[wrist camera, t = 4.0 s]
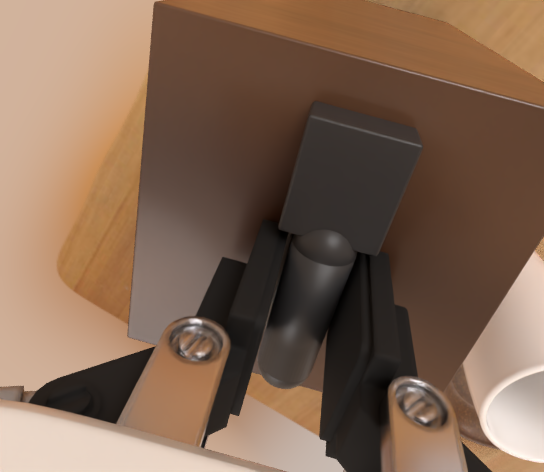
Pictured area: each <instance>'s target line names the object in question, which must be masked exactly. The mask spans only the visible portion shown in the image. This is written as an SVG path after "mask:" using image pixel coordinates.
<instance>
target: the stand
mask: <svg viewBox="0 0 544 472" xmlns="http://www.w3.org/2000/svg"><path fill="white" fill-rule="evenodd" d="M314 101H318V102H321V103H325V104H329V105H332V106H336V107H340V108H343V109H347V110H351V111H355V112H358V113H362V114H366V115H369V116H373V117H377V118H380V119H384V120H388V121H391V122H395V123H399V124H402V125H406V126H410V127H413V128H416V129H417V131H418V133H419V136H420V139H421V141H422V144H423V150H422V152H421V155H420V157H419V159H418V162H417V164H416V166H415V169H414V171H413V173H412V176H411V178H410V181H409V183H408V185H407V188H406V190H405V192H404V195H403V197H402V199H401V202H400V204H399V207H398V209H397V211H396V214H395V216H394V218H393V221H392V223H391V225H390V228H389V230H388V233H387V235H386V237H385V240H384V242H383V244H382V247H381V249H380V251H381V252H385V253H388V254H389V261H390V269H391V278H392V286H393V295H394V303H395V305H399V306H402V307H405V308H406V309H407V311H408V315H409V322H410V328H411V335H412V341H413V347H414V354H415V360H416V367H417V373H418V377H419V378H421V379H424V380H426V381H428V382H430V383H431V384H433V385H434V386H436V387H437V388H439V389H440V390H441V391H442V392H443V393H444V392H445V390H446V388H447V387H448V385H449V384H450V382H451V381H452V379H453V377H454V376H455V374H456V373H457V371H458V370H459V368H460V367H461V365H462V363H463V362H464V360H465V359H466V357H467V356H468V354H469V352H470V351H471V349H472V348H473V346H474V345H475V343H476V342H477V340H478V338H479V337H480V335H481V334H482V332H483V331H484V329H485V327H486V326H487V324H488V323H489V321H490V320H491V318H492V316H493V315H494V313H495V312H496V310H497V309H498V307H499V306H500V304H501V302H502V301H503V299H504V298H505V296H506V295H507V293H508V291H509V290H510V288H511V287H512V285H513V284H514V282H515V281H516V279H517V277H518V276H519V274H520V273H521V271H522V270H523V268H524V266H525V265H526V263H527V262H528V260H529V259H530V257H531V255H532V254H533V252H534V251H535V249H536V248H537V246H538V245H539V243H540V241H541V240H542V238H543V237H544V82H543V81H541V80H539V79H538V78H536V77H534V76H533V75H531V74H530V73H528V72H526V71H525V70H523V69H521V68H520V67H518V66H517V65H515V64H513V63H512V62H510V61H509V60H507V59H505V58H504V57H502V56H500V55H499V54H497V53H496V52H494V51H492V50H491V49H489V48H487V47H486V46H484V45H483V44H481V43H479V42H478V41H476V40H475V39H473V38H471V37H470V36H468V35H466V34H465V33H463V32H462V31H460V30H458V29H457V28H455V27H453V26H452V25H450V24H449V23H446V22H443V21H439V20H435V19H432V18H428V17H424V16H420V15H417V14H413V13H409V12H405V11H402V10H398V9H394V8H390V7H387V6H383V5H379V4H376V3H372V2H368V1H364V0H163V1H158V2H155V3H154V8H153V21H152V33H151V46H150V58H149V71H148V83H147V96H146V108H145V121H144V134H143V146H142V159H141V171H140V184H139V196H138V209H137V222H136V234H135V247H134V259H133V272H132V284H131V297H130V309H129V322H128V337H129V338H132V339H136V340H139V341H143V342H146V343H150V344H154V345H157V343H158V341H159V339H160V337H161V335H162V333H163V331H164V330H165V329H166V327H167V326H168V325H169V324H170V323H172V322H173V321H175V320H177V319H180V318H183V317H190V316H196V314H197V311H198V309H199V307H200V305H201V303H202V300H203V298H204V296H205V294H206V292H207V289H208V287H209V285H210V283H211V281H212V278H213V276H214V274H215V272H216V270H217V267H218V265H219V263H220V261H221V259H222V257H226V258H230V259H233V260H237V261H240V262H244V263H248V260H249V257H250V255H251V252H252V249H253V246H254V243H255V241H256V238H257V235H258V232H259V229H260V227H261V224H262V221H263V219H265V220H269V221H272V222H276V223H279V221H280V218H281V214H282V210H283V207H284V203H285V199H286V196H287V192H288V188H289V185H290V181H291V177H292V174H293V170H294V166H295V163H296V159H297V155H298V151H299V148H300V144H301V140H302V137H303V133H304V129H305V126H306V122H307V118H308V115H309V112H310V108H311V105H312V103H313V102H314ZM293 235H294V234H292V233H288V237H287V241H286V245H285V249H284V253H283V257H282V261H281V265H280V269H279V273H278V277H277V281H276V285H275V289H274V293H273V297H272V301H271V305H270V309H269V313H268V317H267V321H266V325H267V322H268V318H269V315H270V312H271V308H272V305H273V302H274V298H275V295H276V291H277V288H278V285H279V281H280V278H281V274H282V271H283V268H284V264H285V261H286V258H287V254H288V251H289V247H290V244H291V241H292V237H293ZM357 253H358V252H357ZM266 325H265V329H266ZM265 329H264V332H265ZM264 332H263V335H264ZM327 332H328V330H327ZM262 339H263V336H262ZM262 339H261V342H262ZM326 340H327V333H326V335H325V338H324V340H323V343H322V345H321V348H320V351H319V353H318V356H317V358H316V361H315V363H314V366H313V368H312V371H311V373H310V375H309V376H308V378H307V379H306V380H305V381H304V382H303V383H302V384H301V385H299V386H303V387H306V388H310V389H313V390H317V391H320V392H323V380H324V367H325V353H326ZM261 342H260V346H261ZM260 346H259V349H260ZM259 349H258V353H259ZM258 353H257V356H256V359H255V363H254V366H253V370H252V372H253V373H256V374H260V375H261V373H260V370H259V367H258Z"/></svg>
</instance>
